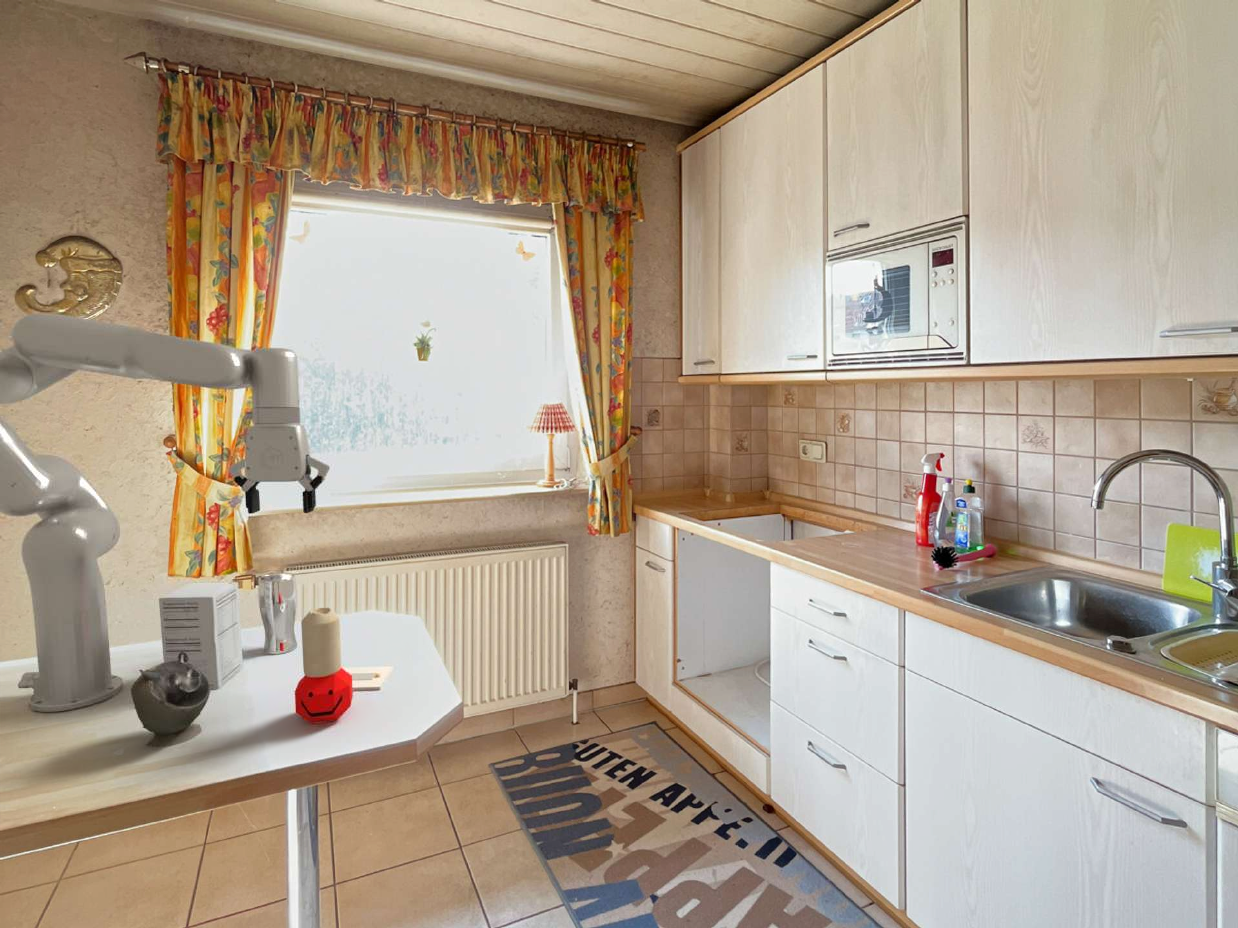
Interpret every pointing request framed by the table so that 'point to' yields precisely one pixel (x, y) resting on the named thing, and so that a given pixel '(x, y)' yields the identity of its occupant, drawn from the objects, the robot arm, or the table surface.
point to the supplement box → (204, 629)
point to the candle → (321, 643)
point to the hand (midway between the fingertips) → (281, 512)
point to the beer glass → (278, 611)
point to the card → (369, 677)
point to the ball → (324, 697)
